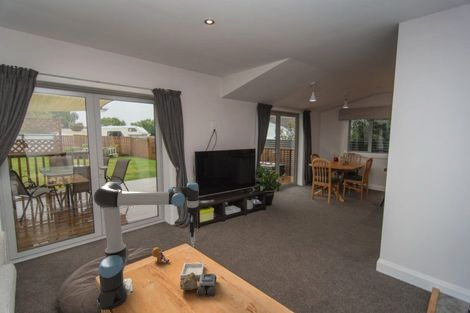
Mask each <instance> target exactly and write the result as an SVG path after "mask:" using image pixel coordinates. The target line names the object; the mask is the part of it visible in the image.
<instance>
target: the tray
mask: <svg viewBox="0 0 470 313" xmlns="http://www.w3.org/2000/svg"><path fill="white" fill-rule="evenodd" d="M204 268H205V263H204V262H184V263H183V266H182V270H181V272H180V274H179V276H180V278H179V279H180V281H181V280H182V281H183V280H184V279H185V278H186V277H187V275H188V274H190V273H192V272H193V273H195V276H196V280H199V277H200V275H201V274H204Z"/></svg>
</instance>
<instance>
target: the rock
mask: <svg viewBox="0 0 470 313" xmlns="http://www.w3.org/2000/svg"><path fill="white" fill-rule="evenodd" d="M179 284H180V286H179V287H180V290H183V291H187V290H188V291H193V290H197V289H198V282H197V279H196V276H195V273H193V272H192V273H190V274H188V275H187V277H186V278H185V279H184V280H181V279H180V282H179Z"/></svg>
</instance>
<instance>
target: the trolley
mask: <svg viewBox="0 0 470 313" xmlns="http://www.w3.org/2000/svg"><path fill="white" fill-rule="evenodd" d="M198 281H199V282H198V286H197V288H196V295H197V296H198V297H199V298H202V297H204V296H205V295H207V296H208V297H214V296H215V295H216V294H217V289H216V287H215V283H216V282H217V275H216V273H203V274H201V275H200V277H199V279H198ZM205 286H208V287H207V289H206V287H205Z"/></svg>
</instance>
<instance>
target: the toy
mask: <svg viewBox="0 0 470 313" xmlns="http://www.w3.org/2000/svg"><path fill="white" fill-rule="evenodd" d="M151 256H152V257H153V258H156V263H157V264H161V263H162V260H163V261H164V262H165V263H167V264H168V263H169V262H170V261H171V260H170V259H167V257H166V256H165V255H164V254H163V249H161V248H160V247H158V246H157V247H156V246H155V247H154V248H153V249H152V251H151Z"/></svg>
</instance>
